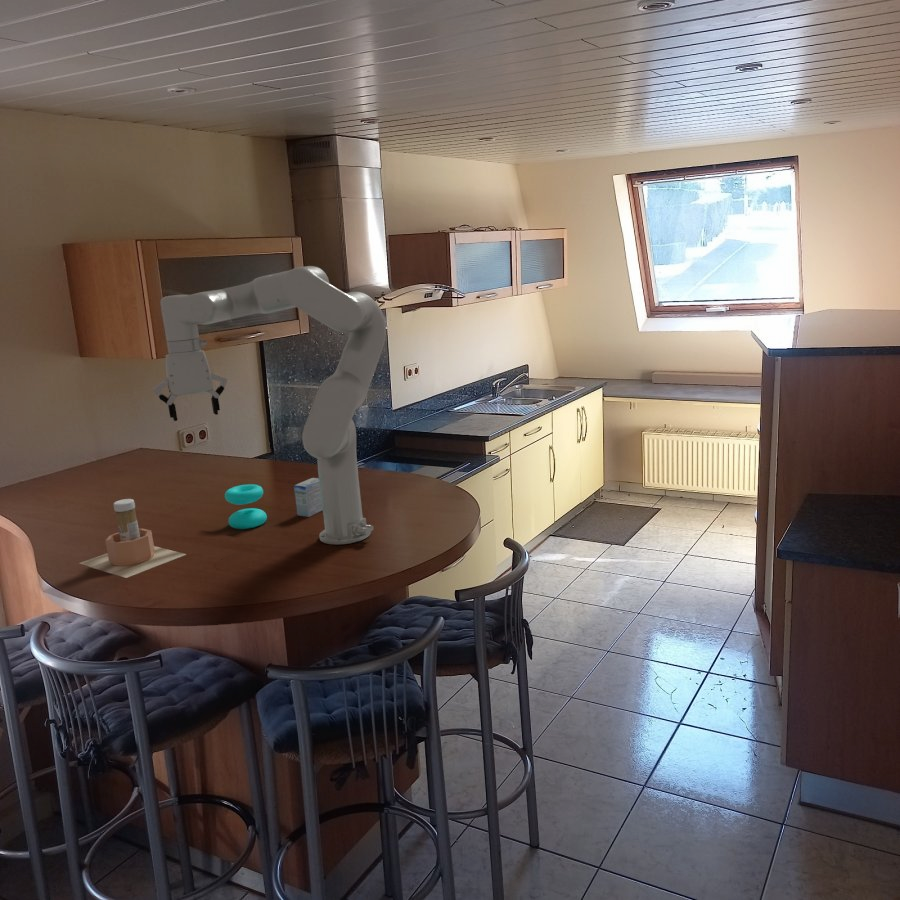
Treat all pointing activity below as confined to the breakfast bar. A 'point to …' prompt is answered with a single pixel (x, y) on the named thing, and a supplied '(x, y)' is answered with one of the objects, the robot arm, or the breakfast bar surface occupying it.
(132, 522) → the spice jar
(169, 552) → the birch board
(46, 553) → the breakfast bar surface
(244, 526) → the donuts
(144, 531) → the terracotta octagonal bowl
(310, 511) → the medicine box
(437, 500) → the breakfast bar surface
